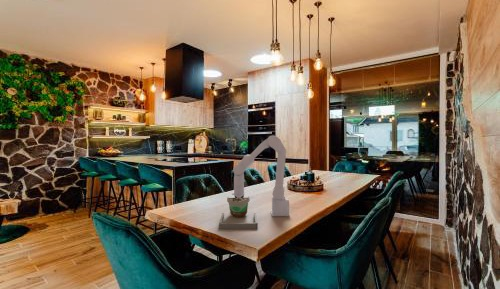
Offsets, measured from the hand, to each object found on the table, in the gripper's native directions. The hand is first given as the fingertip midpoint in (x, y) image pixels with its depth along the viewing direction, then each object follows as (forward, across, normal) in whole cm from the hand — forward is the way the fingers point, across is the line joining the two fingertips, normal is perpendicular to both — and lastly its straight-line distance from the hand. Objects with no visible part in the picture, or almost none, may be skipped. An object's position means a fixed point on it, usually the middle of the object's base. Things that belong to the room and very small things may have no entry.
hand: (239, 209), depth 146 cm
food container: (+2, +7, 0) cm, 7 cm away
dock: (+2, +17, 0) cm, 17 cm away
